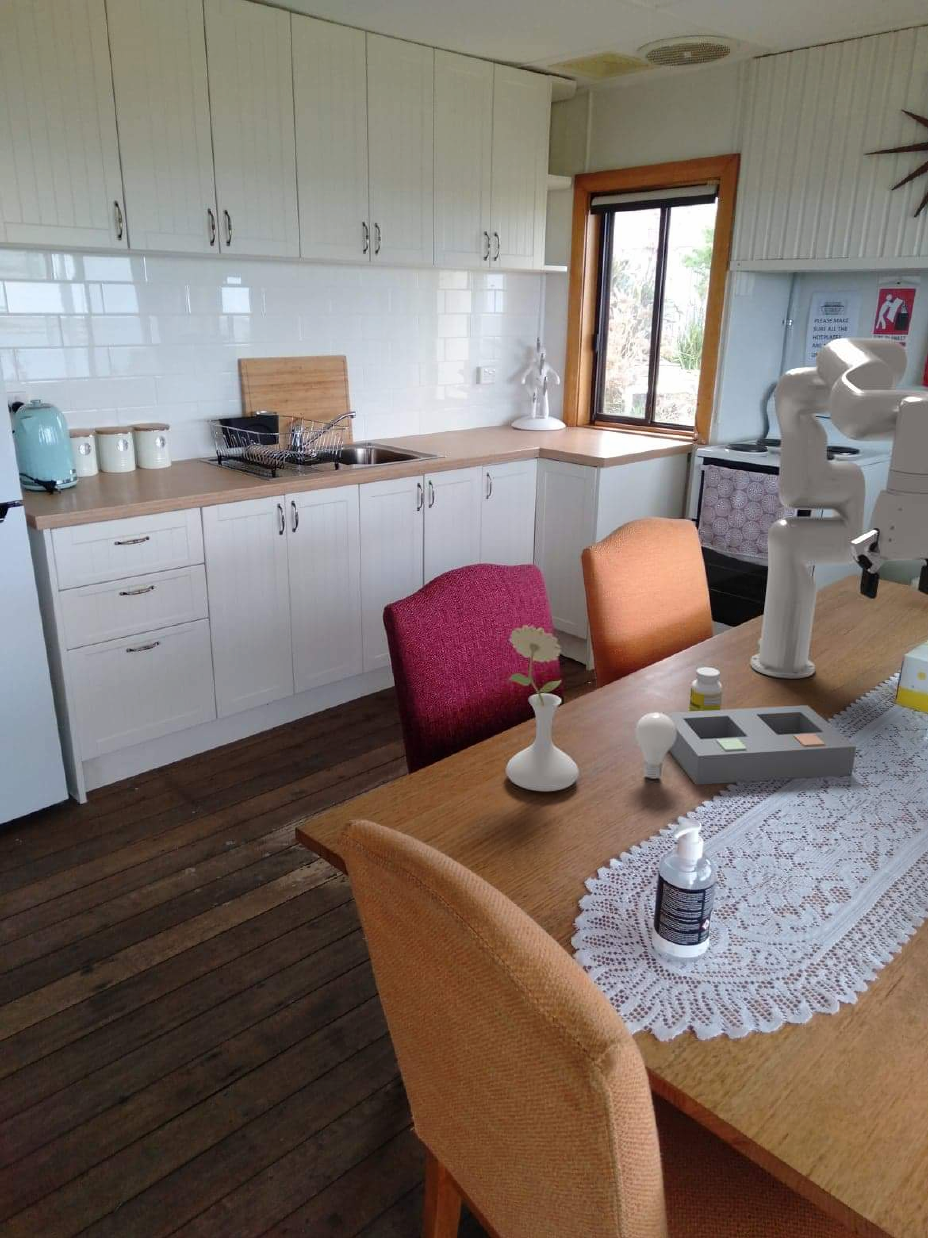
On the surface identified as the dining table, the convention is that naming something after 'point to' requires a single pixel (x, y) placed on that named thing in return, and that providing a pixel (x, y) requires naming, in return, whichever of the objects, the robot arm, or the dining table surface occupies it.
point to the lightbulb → (655, 741)
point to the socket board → (759, 745)
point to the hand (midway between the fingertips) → (897, 594)
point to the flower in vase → (540, 721)
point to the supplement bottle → (706, 690)
